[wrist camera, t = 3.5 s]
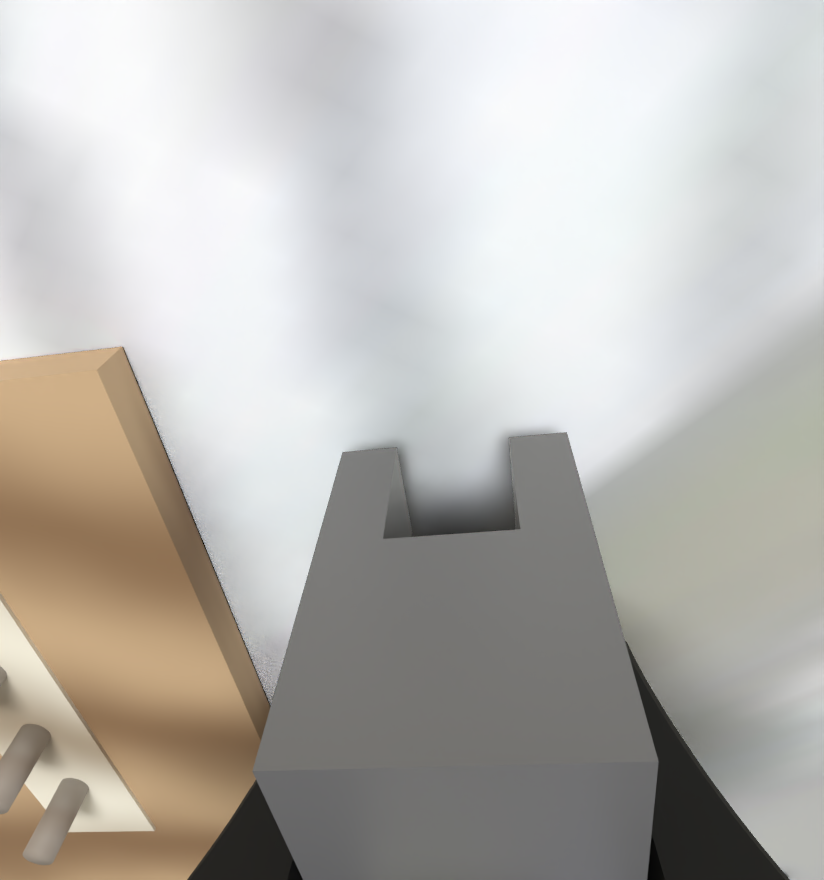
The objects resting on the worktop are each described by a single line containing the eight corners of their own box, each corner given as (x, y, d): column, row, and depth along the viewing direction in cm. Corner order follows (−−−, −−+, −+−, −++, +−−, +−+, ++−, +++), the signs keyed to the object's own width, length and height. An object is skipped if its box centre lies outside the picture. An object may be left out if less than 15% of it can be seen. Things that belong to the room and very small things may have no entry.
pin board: (337, 871, 22) (322, 978, 20) (25, 873, 24) (-27, 972, 21) (121, 346, 12) (32, 428, 9) (-406, 408, 14) (-606, 492, 11)
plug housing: (572, 717, 15) (629, 1056, 10) (406, 723, 16) (381, 1048, 11) (566, 432, 11) (658, 761, 6) (342, 452, 12) (252, 771, 7)
